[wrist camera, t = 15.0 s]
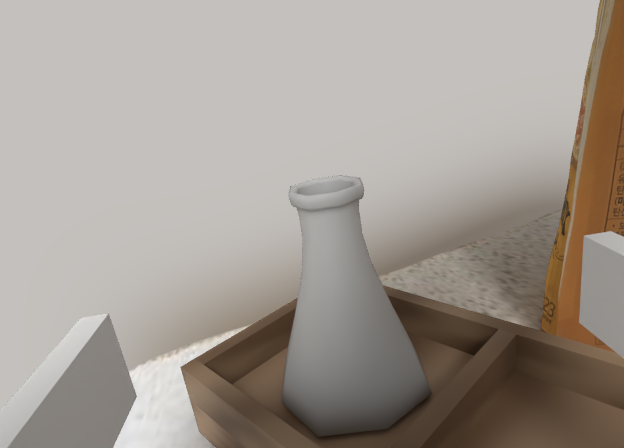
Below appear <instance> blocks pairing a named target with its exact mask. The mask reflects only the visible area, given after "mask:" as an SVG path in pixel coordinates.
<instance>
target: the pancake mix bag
mask: <svg viewBox="0 0 624 448" xmlns="http://www.w3.org/2000/svg"><path fill="white" fill-rule="evenodd" d="M609 231H612V232H614V233H616V234H618V235H621V236H623V237H624V0H600V4H599V8H598V15H597V23H596V31H595V38H594V41H593V44H592V49H591V53H590V57H589V62H588V67H587V71H586V76H585V82H584V88H583V95H582V101H581V108H580V114H579V120H578V125H577V130H576V135H575V141H574V147H573V151H572V157H571V165H570V172H569V179H568V185H567V190H566V196H565V201H564V206H563V210H562V215H561V219H560V224H559V228H558V232H557V236H556V239H555V243H554V247H553V250H552V254H551V258H550V263H549V267H548V272H547V276H546V285H545V296H544V307H543V316H542V324H541V331H542V332H546V333H549V334H553V335H556V336H560V337H563V338H567V339H570V340H573V341H577V342H580V343H584V344H587V345H591V346H594V347H598V348H601V349H605V350H608V351H612V352H615V351H614V350H612V349H611V348H610V347H609V346H607V345H606V344H605V343H604V342H602V341H601V340H600V339H599V338H597V337H596V336H595V335H594V334H593V333H591V332H590V331H589V330H588V329H586V328H585V327H584V326H583V325H581V324H580V323H579V314H580V296H581V277H582V259H583V241H584V236H585V235H591V234H597V233H603V232H609ZM615 353H616V352H615Z"/></svg>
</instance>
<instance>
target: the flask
mask: <svg viewBox="0 0 624 448" xmlns="http://www.w3.org/2000/svg"><path fill="white" fill-rule="evenodd" d="M363 195H364V187H363V183H362V181H361V179H360V178H357V177H350V176H342V175H339V176H332V177H326V178H318V179H313V180H310V181H306V182H303V183H300V184H297V185H294V186H290V190H289V200H290V202H291V205H292V206H293V207H297V210H298V213H299V217H300V225H301V231H302V238H303V247H302V275H301V282H300V287H299V293H298V299H297V305H296V311H295V317H294V321H293V326H292V331H291V336H290V340H289V345H288V350H287V356H286V362H285V371H284V380H283V390H282V400H281V403H282V404H284V405H285V406H286V407H287V408H288V409H289V410H290V411H291V412H292V413H293V414H294V415H295V416H296V417H297V418H299V419H300V420H301V421H302V422H303V423H304V424H305V425H306V426H307V427H308V428H309V429H310V430H311V431H312V432H313V433H315V434H316V435H317V436H318V437H321V436H330V435H339V434H348V433H357V432H365V431H374V430H383V429H388V428H389V427H390V426H392V425H393V424H394V423H395V422H397V421H398V420H399V419H400V418H402V417H403V416H404V415H406V414H407V413H408V412H409V411H411V410H412V409H413V408H414V407H416V406H417V405H418V404H420V403H421V402H422V401H423V400H425V399H426V398H427V397H428V396H430V395H431V394H432V392H431V389H430V386H429V384H428V381H427V378H426V376H425V373H424V370H423V368H422V365H421V362H420V360H419V357H418V354H417V352H416V350H415V348H414V346H413V344H412V342H411V340H410V338H409V336H408V334H407V332H406V331H405V329H404V327H403V325H402V323H401V321H400V319H399V317H398V315H397V314H396V312H395V310H394V308H393V306H392V304H391V302H390V300H389V298H388V296H387V294H386V292H385V289H384V287H383V285H382V283H381V281H380V279H379V277H378V275H377V273H376V271H375V269H374V267H373V264H372V262H371V260H370V257H369V254H368V250H367V247H366V244H365V240H364V237H363V234H362V228H361V221H360V213H359V199H362V197H363Z"/></svg>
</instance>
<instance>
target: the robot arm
mask: <svg viewBox="0 0 624 448" xmlns="http://www.w3.org/2000/svg"><path fill="white" fill-rule="evenodd" d="M579 323H580V324H581V325H583V326H584V327H585V328H586V329H588V330H589V331H590V332H591V333H593V334H594V335H595V336H596V337H597V338H599V339H600V340H601V341H602V342H604V343H605V344H606V345H607V346H609V347H610V348H611V349H612V350H614V351H615V352H616V353H617V354H619V355H620V356H621V357H622V358H624V237H623V236H621V235H618V234H616V233H614V232H612V231H609V232H603V233H597V234H591V235H585V236H584V241H583V259H582V277H581V296H580V314H579ZM136 397H137V396H136V393H135V390H134V387H133V384H132V381H131V378H130V375H129V372H128V369H127V366H126V363H125V360H124V357H123V355H122V351H121V348H120V345H119V342H118V340H117V337H116V334H115V331H114V328H113V325H112V322H111V319H110V316H109V314H102V315H96V316H91V317H85V318H80V319H79V320H78V322H77V323H76V324H75V325H74V326H73V327H72V329H71V330H70V331H69V332H68V333H67V335H66V336H65V337H64V338H63V339H62V340H61V341H60V343H59V344H58V345H57V346H56V347H55V348H54V349H53V351H52V352H51V353H50V354H49V355H48V356H47V358H46V359H45V360H44V361H43V362H42V363H41V364H40V366H39V367H38V368H37V369H36V370H35V371H34V373H33V374H32V375H31V376H30V377H29V378H28V380H27V381H26V382H25V383H24V384H23V385H22V387H21V388H20V389H19V390H18V391H17V392H16V393H15V395H14V396H13V397H12V398H11V399H10V400H9V402H8V403H7V404H6V405H5V406H4V408H3V409H2V410H1V411H0V448H113V446H114V444H115V442H116V440H117V438H118V435H119V433H120V431H121V429H122V427H123V425H124V423H125V420H126V418H127V416H128V414H129V412H130V410H131V408H132V405H133V403H134V401H135V399H136Z"/></svg>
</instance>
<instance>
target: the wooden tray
mask: <svg viewBox="0 0 624 448" xmlns="http://www.w3.org/2000/svg"><path fill="white" fill-rule="evenodd" d="M383 287H384V289H385V292H386V294H387V296H388V298H389V300H390V302H391V304H392V306H393V308H394V310H395V312H396V314H397V315H398V317H399V319H400V321H401V323H402V325H403V327H404V329H405V331H406V332H407V334H408V336H409V338H410V340H411V342H412V344H413V346H414V348H415V350H416V352H417V354H418V357H419V360H420V362H421V365H422V368H423V370H424V373H425V376H426V378H427V381H428V384H429V386H430V389H431V392H432V394H431V395H430V396H428V397H427V398H426V399H425V400H423V401H422V402H421V403H420V404H418V405H417V406H416V407H414V408H413V409H412V410H411V411H409V412H408V413H407V414H406V415H404V416H403V417H402V418H400V419H399V420H398V421H397V422H395V423H394V424H393V425H392V426H390V427H389V428H388V429H383V430H374V431H365V432H357V433H348V434H339V435H330V436H321V437H318V436H317V435H316V434H315V433H313V432H312V431H311V430H310V429H309V428H308V427H307V426H306V425H305V424H304V423H303V422H302V421H301V420H300V419H299V418H297V417H296V416H295V415H294V414H293V413H292V412H291V411H290V410H289V409H288V408H287V407H286V406H285V405H284V404H282V403H281V400H282V390H283V380H284V371H285V362H286V356H287V350H288V345H289V340H290V336H291V331H292V326H293V321H294V317H295V311H296V305H297V299H298V298H297V299H295V300H294V301H292V302H290V303H288V304H287V305H285V306H283V307H282V308H280V309H278V310H276V311H275V312H273V313H271V314H270V315H268V316H266V317H265V318H263V319H261V320H259V321H258V322H256V323H254V324H253V325H251V326H249V327H248V328H246V329H244V330H243V331H241V332H239V333H237V334H236V335H234V336H232V337H231V338H229V339H227V340H226V341H224V342H222V343H221V344H219V345H217V346H215V347H214V348H212V349H210V350H209V351H207V352H205V353H204V354H202V355H200V356H199V357H197V358H195V359H193V360H192V361H190V362H188V363H187V364H185V365H183V366H182V367H181V370H182V374H183V377H184V381H185V384H186V388H187V391H188V394H189V398H190V401H191V405H192V408H193V412H194V415H195V418H196V422H197V425H198V429H199V432H200V433H201V434H202V435H203V436H205V437H206V438H207V439H208V440H209V441H210V442H211V443H212V444H213V445H214V446H215V447H216V448H624V358H622V357H621V356H620V355H619V354H617V353H615V352H612V351H608V350H605V349H601V348H598V347H594V346H591V345H587V344H584V343H580V342H577V341H573V340H570V339H567V338H563V337H560V336H556V335H553V334H549V333H546V332H542V331H539V330H535V329H532V328H528V327H525V326H521V325H518V324H514V323H511V322H508V321H504V320H501V319H497V318H494V317H490V316H487V315H483V314H480V313H476V312H473V311H469V310H466V309H462V308H459V307H455V306H452V305H449V304H445V303H442V302H438V301H435V300H431V299H428V298H424V297H421V296H417V295H414V294H410V293H407V292H403V291H400V290H397V289H393V288H390V287H386V286H383Z"/></svg>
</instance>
